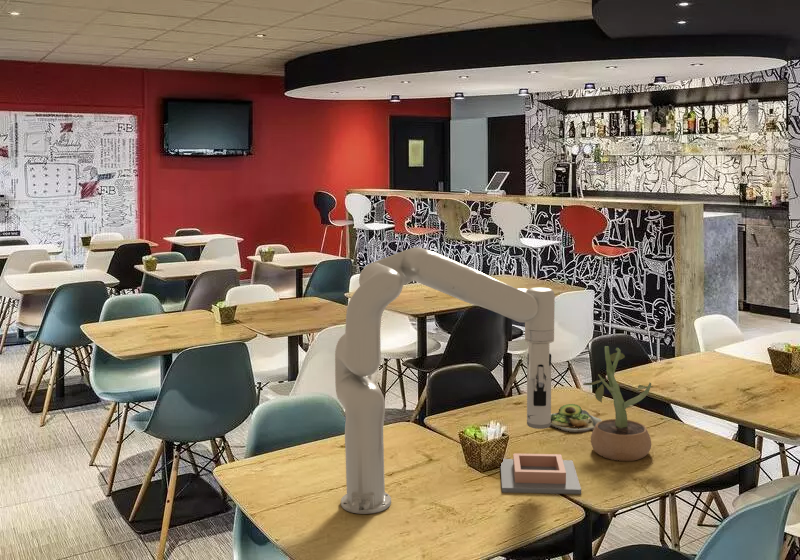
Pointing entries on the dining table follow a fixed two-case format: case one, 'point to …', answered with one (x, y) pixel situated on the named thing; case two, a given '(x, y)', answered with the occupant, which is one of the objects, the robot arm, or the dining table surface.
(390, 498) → the robot arm
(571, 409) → the salad plate
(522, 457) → the collar plate
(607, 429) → the potted plant
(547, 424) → the travel mug
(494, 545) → the dining table surface
